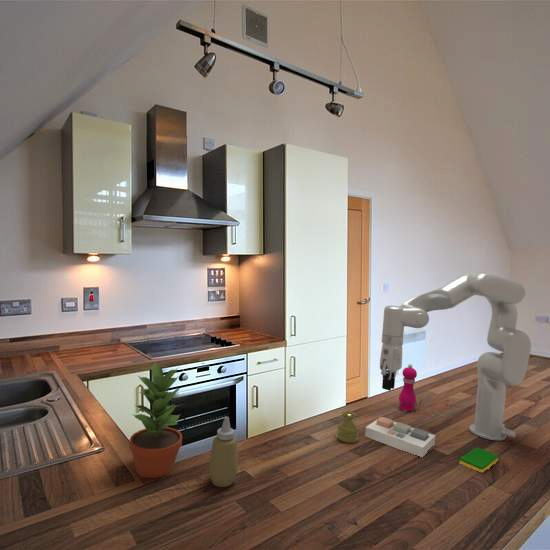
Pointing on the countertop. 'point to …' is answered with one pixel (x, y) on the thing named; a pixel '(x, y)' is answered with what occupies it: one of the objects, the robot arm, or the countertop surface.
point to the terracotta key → (385, 422)
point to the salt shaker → (347, 428)
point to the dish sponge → (479, 459)
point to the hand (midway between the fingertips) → (388, 388)
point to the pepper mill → (408, 389)
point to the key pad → (399, 439)
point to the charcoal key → (419, 434)
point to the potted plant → (156, 428)
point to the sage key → (402, 428)
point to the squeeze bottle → (224, 456)
